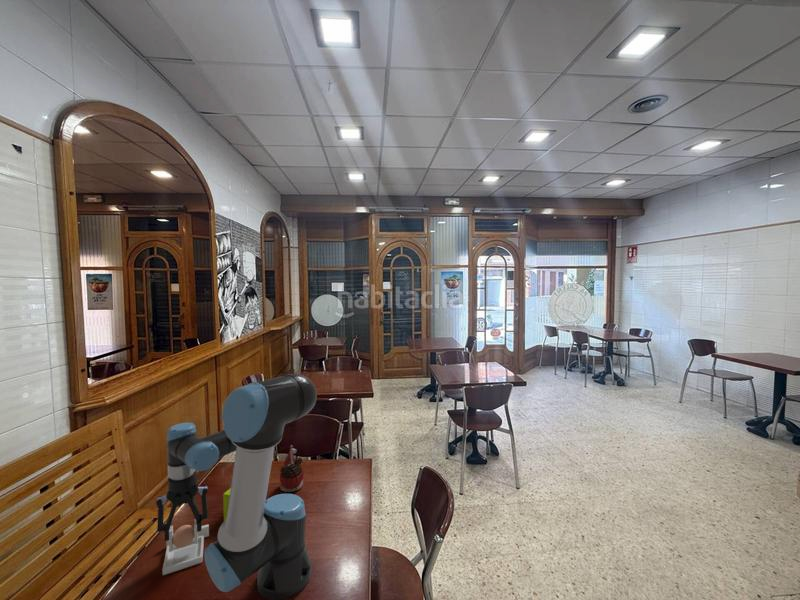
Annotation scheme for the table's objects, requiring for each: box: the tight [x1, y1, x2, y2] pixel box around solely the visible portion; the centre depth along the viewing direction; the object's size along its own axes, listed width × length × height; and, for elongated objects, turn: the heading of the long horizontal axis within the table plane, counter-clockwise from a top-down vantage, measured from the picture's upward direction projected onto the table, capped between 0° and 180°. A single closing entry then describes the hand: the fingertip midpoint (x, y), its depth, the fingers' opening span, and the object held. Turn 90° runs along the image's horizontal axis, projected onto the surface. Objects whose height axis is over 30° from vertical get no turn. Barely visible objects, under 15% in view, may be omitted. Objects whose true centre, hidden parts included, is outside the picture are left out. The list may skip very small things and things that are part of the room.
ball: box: [173, 524, 194, 548], centre depth 106 cm, size 6×6×6 cm
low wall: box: [165, 524, 210, 547], centre depth 113 cm, size 1×12×4 cm, turn 118°
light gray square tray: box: [162, 535, 205, 576], centre depth 106 cm, size 10×10×2 cm
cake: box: [279, 444, 304, 493], centre depth 143 cm, size 11×9×18 cm
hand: (184, 544), depth 106 cm, fingers closed on ball, 6 cm apart
